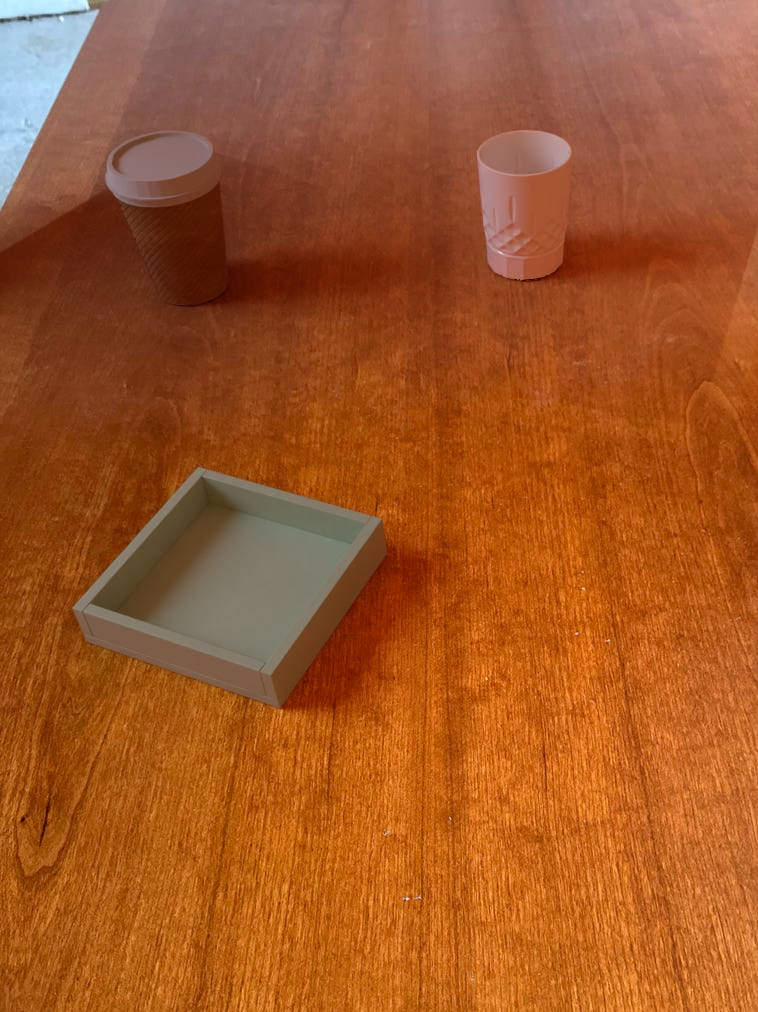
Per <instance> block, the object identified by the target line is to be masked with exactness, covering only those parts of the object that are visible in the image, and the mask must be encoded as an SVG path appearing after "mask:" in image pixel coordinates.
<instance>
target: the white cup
mask: <svg viewBox="0 0 758 1012" xmlns="http://www.w3.org/2000/svg"><path fill="white" fill-rule="evenodd" d="M476 161H477V162H476V163H477V172H478V184H479V195H480V196H479V197H480V207H481V208H480V209H481V215H482V226H483V233H484V236H485V242H486V244H485V245H486V257H487V258H486V259H487V265H488V266H489V267H490V268H491V270H492V271H493V272H494V273H495V274H497V275H499V276H501V275H502V276H501V277H503V278H505V279H508V278H509V279H508V280H514V279H517V280H516V281H522V280H523V279H529V278H535V277H541V276H545V275H547V274H549V273H552V272H554V271H555V270H556V269H557V268H558V267H559V266H560V265H561V264H562V263H563V262H564V250H565V249H564V248H565V238H566V234H567V228H568V219H569V207H570V193H571V179H572V178H571V176H572V164H573V163H572V162H573V148H572V146H571V144H570V143H569V142H568V141H567V140H566V139H565V138H563V137H561V136H559V135H557V134H554V133H551V132H547V131H542V130H531V129H520V130H519V129H518V130H511V131H505V132H502V133H499V134H495V135H494V136H491V137H490V138H488V139H486V140H485V141H483V142H482V143H481V144H480V146H479V147H478V149H477V151H476ZM562 265H563V264H562ZM562 265H561V266H562ZM561 266H560V267H561ZM560 267H559V268H560ZM559 268H558V269H559ZM519 279H520V280H519Z"/></svg>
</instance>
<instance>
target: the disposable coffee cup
mask: <svg viewBox="0 0 758 1012" xmlns="http://www.w3.org/2000/svg"><path fill="white" fill-rule="evenodd" d="M106 160H107V161H106V172H105V175H104V180H105V184H106V185H107V188H108V189H109V191H110V192H111V193H112V194H113V196H114V197H115V198H116V199H117V202H118V204H119V206H120V209H121V211H122V213H123V216H124V218H125V219H126V223H127V225H128V227H129V229H130V232H131V234H132V237H133V239H134V242H135V244H136V246H137V248H138V251H139V253H140V256H141V258H142V259H143V262H144V264H145V267H146V270H147V271H148V274H149V276H150V278H151V281H152V284H153V285H154V288H155V291H156V293H157V295H158V298H160V299H161V300H162V301H164V302H166V303H167V304H171V305H176V306H186V307H187V306H195V305H201V304H204V303H208V302H210V301H212V300H215V299H216V298H218V297H220V296H221V295H222V294H223V293H224V292H225V291H226V290H227V288H228V285H229V280H230V279H229V271H228V258H227V249H226V248H227V247H226V235H225V225H224V217H223V216H224V215H223V202H222V201H223V200H222V189H221V181H220V180H221V178H222V171H223V167H224V163H223V159H222V156H220V154H219V153H218V152H217V151H216V150H215V148H214V146H213V143H212V142H211V141H210V139H208V138H207V137H206V136H203V135H202V134H200V133H196V132H193V131H187V130H186V131H185V130H176V129H175V130H157V131H153V132H148V133H144V134H140V135H137V136H134V137H132V138H130V139H128V140H127V139H126V141H124V142H121V143H120V144H118V145H117V146H116V147H115V148H113V150H112V151H110V153H109V154H108V157H107V159H106Z"/></svg>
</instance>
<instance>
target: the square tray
mask: <svg viewBox="0 0 758 1012" xmlns="http://www.w3.org/2000/svg"><path fill="white" fill-rule="evenodd" d="M387 555H388V549H387V541H386V534H385V525H384V520H383V518H381V517H378V516H374V515H371V514H367V513H363V512H359V511H356V510H353V509H349V508H346V507H342V506H339V505H335V504H331V503H327V502H324V501H321V500H317V499H314V498H310V497H307V496H303V495H299V494H296V493H292V492H289V491H286V490H282V489H278V488H275V487H271V486H268V485H264V484H262V483H261V484H260V483H257V482H254V481H250V480H246V479H243V478H240V477H236V476H231V475H229V474H225V473H222V472H218V471H215V470H211V469H207V468H204V467H200V466H197V468H196V469H195V470H194V471H193V472H192V473H191V474H190V475H189V476H188V478H187V479H186V480H185V481H184V482H183V483H182V484H181V485H180V487H178V489H177V490H176V491H175V492H174V493H173V494H172V496H171V497H170V498H169V499H168V500H167V501H166V502H165V504H163V506H162V507H161V508H160V509H159V510H158V511H157V512H156V513H155V514H154V516H153V517H152V518H151V519H150V520H149V521H148V522H147V524H146V525H144V526H143V528H142V529H141V530H140V531H139V533H138V534H136V536H135V537H134V538H133V539H132V541H130V543H129V544H128V545H127V546H126V547H124V549H123V550H122V552H121V553H119V555H118V556H117V557H116V558H115V559H114V560H113V562H112V563H111V564H110V565H109V566H108V567H107V568H106V569H105V571H104V572H102V574H101V575H100V576H99V578H97V579H96V581H94V582H93V584H92V585H91V586H90V587H89V589H88V590H87V591H86V592H85V593H84V594H83V595H82V596H81V597H80V598H79V600H78V601H77V602H76V603H75V604H74V606H72V611H73V613H74V615H75V618H76V621H77V622H78V624H79V627H80V629H81V632H82V634H83V636H84V638H85V640H86V643H89V644H90V645H91V644H92V645H95V646H97V647H100V648H103V649H106V650H109V651H112V652H114V653H117V654H121V655H124V656H126V657H129V658H132V659H135V660H138V661H140V662H144V663H146V664H150V665H152V666H155V667H158V668H160V669H164V670H167V671H170V672H172V673H176V674H178V675H181V676H184V677H187V678H190V679H193V680H196V681H199V682H202V683H205V684H207V685H211V686H212V687H213V686H214V687H216V688H219V689H221V690H225V691H228V692H230V693H233V694H236V695H238V696H242V697H245V698H248V699H251V700H253V701H256V700H257V701H256V702H260V703H262V704H265V705H268V706H271V707H274V708H277V709H282V707H283V706H284V704H285V703H286V701H287V700H288V699H289V697H290V696H291V695H292V693H293V691H294V690H295V688H296V687H297V686H298V684H299V683H300V681H301V679H303V677H304V675H305V674H306V672H307V671H308V670H309V668H310V667H311V665H312V664H313V662H314V661H315V659H316V658H317V656H318V655H319V654H320V652H321V651H322V649H323V648H324V646H325V645H326V643H327V642H328V641H329V639H330V638H331V636H332V635H333V633H334V632H335V631H336V629H337V627H339V624H340V623H341V621H342V620H343V619H344V617H345V616H346V614H347V613H348V612H349V610H350V608H352V606H353V604H354V602H355V601H356V600H357V598H358V597H359V596H360V594H361V593H362V591H363V590H364V589H365V587H366V585H367V584H368V582H369V581H370V580H371V578H372V576H373V575H374V574H375V573H376V571H377V569H378V568H379V567H380V565H381V564H382V562H383V561H384V559H385V558H386V557H387Z"/></svg>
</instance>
